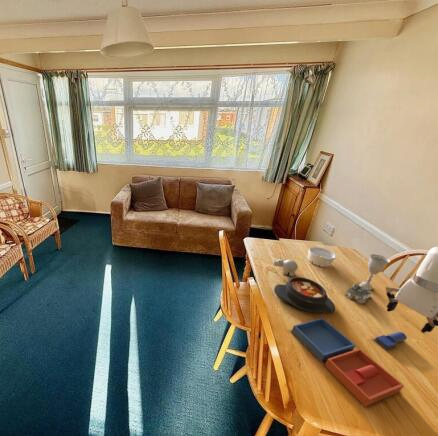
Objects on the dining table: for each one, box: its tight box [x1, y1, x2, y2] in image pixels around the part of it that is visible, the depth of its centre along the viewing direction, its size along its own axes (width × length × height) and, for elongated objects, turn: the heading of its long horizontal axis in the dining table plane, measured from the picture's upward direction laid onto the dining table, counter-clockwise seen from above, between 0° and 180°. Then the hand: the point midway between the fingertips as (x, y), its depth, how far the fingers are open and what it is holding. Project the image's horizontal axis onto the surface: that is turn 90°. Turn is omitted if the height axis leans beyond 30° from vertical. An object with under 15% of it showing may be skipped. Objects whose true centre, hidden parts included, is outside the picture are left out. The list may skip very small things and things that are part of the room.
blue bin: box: [291, 317, 356, 363], centre depth 90 cm, size 13×15×4 cm
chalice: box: [358, 253, 391, 291], centre depth 116 cm, size 7×7×18 cm
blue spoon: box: [374, 331, 408, 350], centre depth 90 cm, size 11×4×3 cm, turn 105°
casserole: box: [273, 276, 336, 314], centre depth 109 cm, size 25×19×8 cm
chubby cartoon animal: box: [273, 257, 299, 278], centre depth 129 cm, size 7×12×8 cm, turn 51°
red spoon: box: [344, 365, 379, 386], centre depth 77 cm, size 11×4×3 cm, turn 105°
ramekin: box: [307, 246, 337, 268], centre depth 139 cm, size 13×13×7 cm
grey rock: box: [346, 283, 372, 305], centre depth 112 cm, size 11×8×4 cm
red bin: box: [324, 348, 405, 407], centre depth 77 cm, size 13×15×4 cm
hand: (406, 320), depth 82 cm, fingers open, 9 cm apart
